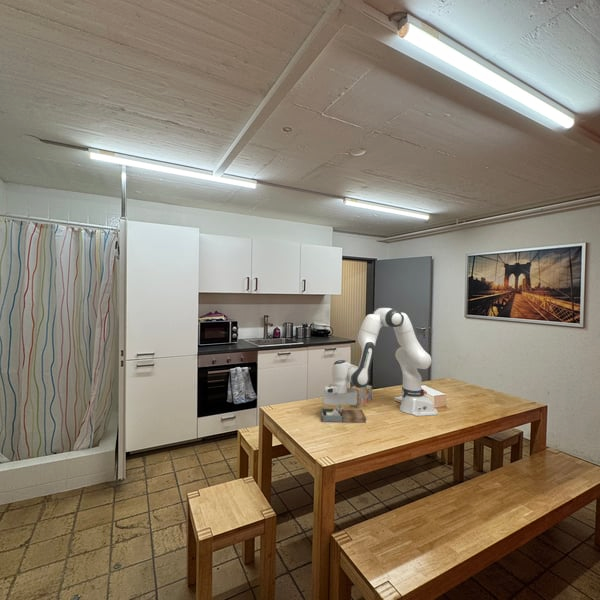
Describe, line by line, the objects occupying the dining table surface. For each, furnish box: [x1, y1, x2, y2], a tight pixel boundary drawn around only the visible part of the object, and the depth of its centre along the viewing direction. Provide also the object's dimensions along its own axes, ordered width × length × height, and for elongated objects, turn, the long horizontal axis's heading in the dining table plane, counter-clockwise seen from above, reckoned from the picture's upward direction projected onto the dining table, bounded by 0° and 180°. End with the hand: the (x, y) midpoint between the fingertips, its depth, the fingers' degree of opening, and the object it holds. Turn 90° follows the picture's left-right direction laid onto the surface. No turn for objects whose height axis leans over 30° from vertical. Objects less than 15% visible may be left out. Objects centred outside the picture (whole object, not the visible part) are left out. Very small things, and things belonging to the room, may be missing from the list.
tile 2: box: [332, 408, 341, 416], centre depth 182 cm, size 4×4×2 cm
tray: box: [320, 408, 343, 423], centre depth 182 cm, size 11×11×4 cm
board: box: [340, 408, 367, 424], centre depth 182 cm, size 13×12×3 cm
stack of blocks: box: [349, 384, 373, 409], centre depth 209 cm, size 21×6×12 cm, turn 144°
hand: (339, 411), depth 182 cm, fingers closed
